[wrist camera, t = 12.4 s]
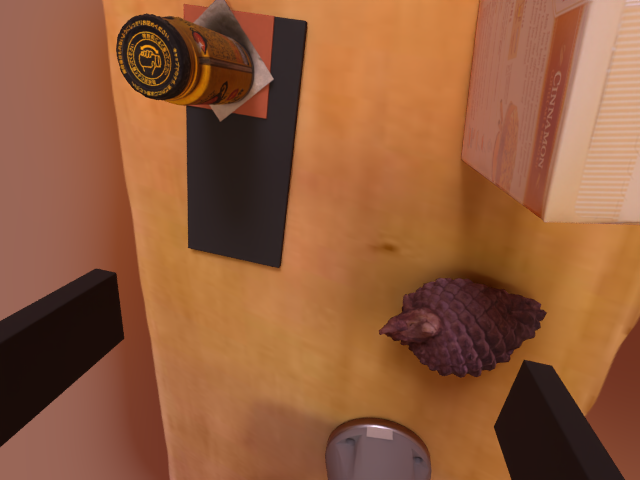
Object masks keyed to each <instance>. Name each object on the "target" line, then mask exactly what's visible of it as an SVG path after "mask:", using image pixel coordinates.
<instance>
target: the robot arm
mask: <svg viewBox="0 0 640 480" xmlns="http://www.w3.org/2000/svg"><path fill="white" fill-rule="evenodd" d="M123 339H124V332H123V324H122V316H121V308H120V300H119V292H118V284H117V275H116V273H115V272H109V271H105V270H101V269H94V270H92V271H90V272H89V273H87V274H85V275H83V276H81V277H80V278H78V279H76V280H74V281H72V282H70V283H69V284H67V285H65V286H63V287H61V288H60V289H58V290H56V291H54V292H52V293H51V294H49V295H47V296H45V297H43V298H42V299H40V300H38V301H36V302H34V303H32V304H31V305H29V306H27V307H25V308H23V309H21V310H20V311H18V312H16V313H14V314H12V315H11V316H9V317H7V318H5V319H3V320H1V321H0V447H1V446H2V445H3V444H4V443H6V442H7V441H8V440H9V439H10V438H11V437H12V436H14V435H15V434H16V433H17V432H18V431H19V430H20V429H22V428H23V427H24V426H25V425H26V424H27V423H28V422H30V421H31V420H32V419H33V418H34V417H35V416H36V415H38V414H39V413H40V412H41V411H42V410H43V409H44V408H45V407H47V406H48V405H49V404H50V403H51V402H52V401H53V400H55V399H56V398H57V397H58V396H59V395H60V394H62V393H63V392H64V391H65V390H66V389H67V388H68V387H69V386H71V385H72V384H73V383H74V382H75V381H76V380H77V379H78V378H80V377H81V376H82V375H83V374H84V373H85V372H87V371H88V370H89V369H90V368H91V367H92V366H93V365H95V364H96V363H97V362H98V361H99V360H100V359H101V358H102V357H104V356H105V355H106V354H107V353H108V352H109V351H111V349H113V348H114V347H115V346H116V345H117V344H118V343H120V342H121V341H122V340H123ZM494 429H495V432H496V435H497V438H498V441H499V444H500V447H501V450H502V453H503V456H504V459H505V462H506V465H507V468H508V471H509V474H510V477H511V480H625V479H624V477H623V476H622V474H621V473H620V471H619V470H618V468H617V466H616V465H615V463H614V462H613V460H612V459H611V457H610V456H609V454H608V452H607V451H606V449H605V448H604V446H603V445H602V443H601V442H600V440H599V438H598V437H597V435H596V434H595V432H594V431H593V429H592V428H591V426H590V424H589V423H588V422H587V420H586V418H585V417H584V415H583V413H582V412H581V410H580V409H579V407H578V406H577V404H576V403H575V401H574V399H573V398H572V396H571V395H570V393H569V392H568V390H567V388H566V387H565V385H564V384H563V382H562V381H561V379H560V378H559V376H558V374H557V373H556V371H555V370H554V368H553V367H552V366H550V365H546V364H541V363H536V362H532V361H527V360H524V361H523V363H522V365H521V368H520V370H519V372H518V374H517V377H516V379H515V381H514V383H513V385H512V388H511V390H510V392H509V394H508V397H507V399H506V401H505V403H504V405H503V408H502V410H501V412H500V414H499V417H498V419H497V421H496V423H495V425H494ZM325 459H326V469H327V476H328V480H430V479H431V463H430V455H429V452H428V449H427V447H426V445H425V444H424V442H423V441H422V440H421V439H420V438H419V437H418V436H417V435H416V434H415V433H414V432H412V431H411V430H409V429H408V428H406V427H404V426H402V425H400V424H398V423H395V422H392V421H389V420H384V419H379V418H360V419H354V420H351V421H348V422H345V423H343V424H341V425H340V426H338V427H337V428H336V429H335V430H334V431H333V432H332V433H331V435H330V437H329V439H328V442H327V448H326V454H325Z"/></svg>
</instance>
